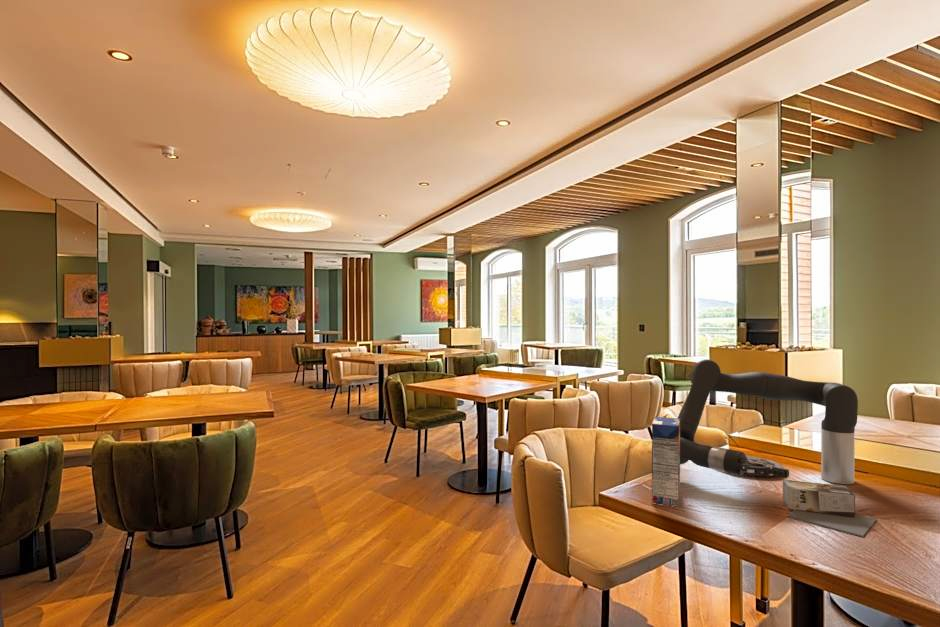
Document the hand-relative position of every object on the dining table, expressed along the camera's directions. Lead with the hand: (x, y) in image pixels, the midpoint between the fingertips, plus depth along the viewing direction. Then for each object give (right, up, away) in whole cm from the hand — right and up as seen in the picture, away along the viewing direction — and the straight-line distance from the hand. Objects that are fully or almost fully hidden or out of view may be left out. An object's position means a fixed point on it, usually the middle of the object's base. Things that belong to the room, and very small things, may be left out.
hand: (788, 473), depth 148 cm
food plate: (+9, -11, +38) cm, 41 cm away
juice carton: (-34, -10, +6) cm, 36 cm away
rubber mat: (+7, -10, -8) cm, 15 cm away
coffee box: (0, -6, +2) cm, 7 cm away
